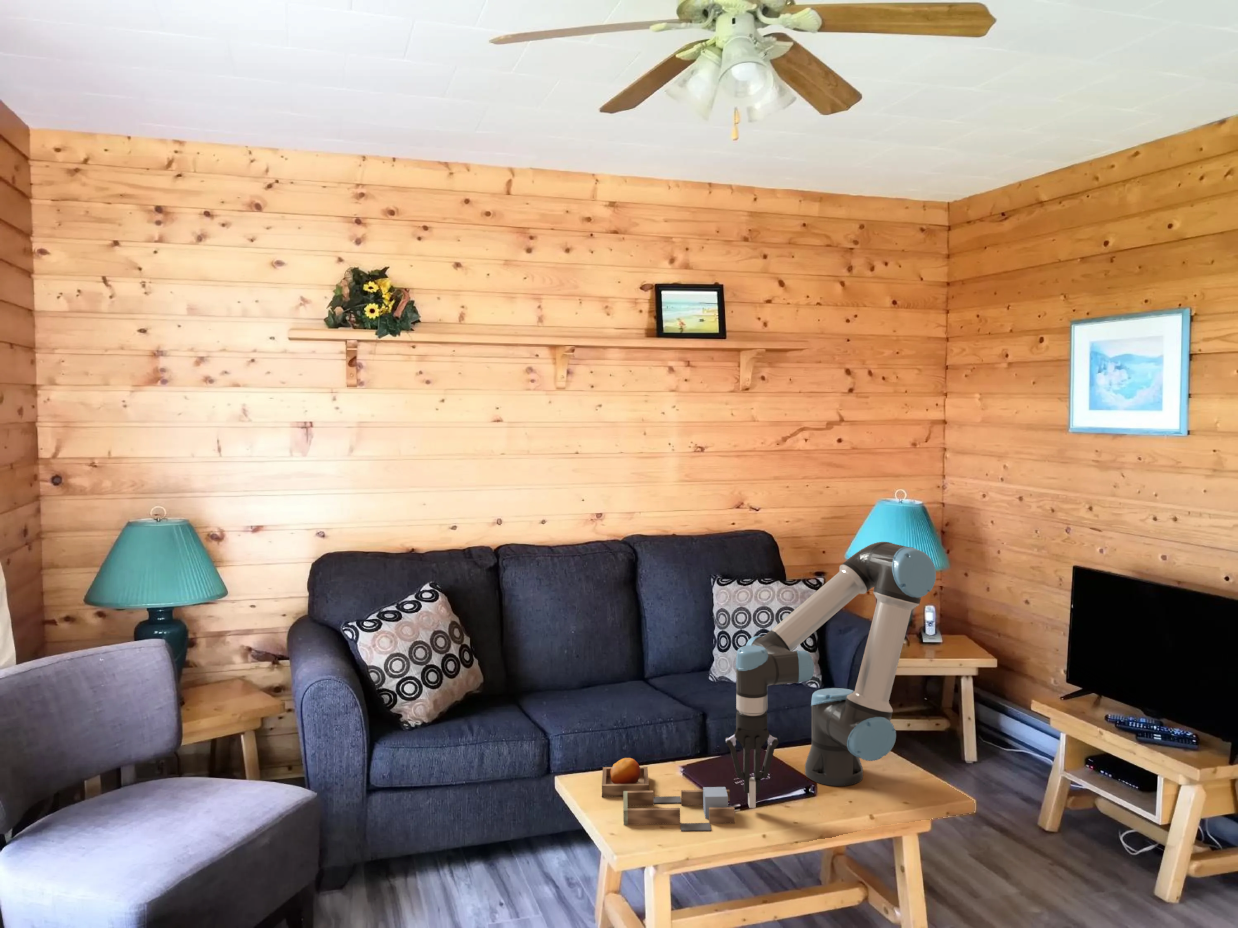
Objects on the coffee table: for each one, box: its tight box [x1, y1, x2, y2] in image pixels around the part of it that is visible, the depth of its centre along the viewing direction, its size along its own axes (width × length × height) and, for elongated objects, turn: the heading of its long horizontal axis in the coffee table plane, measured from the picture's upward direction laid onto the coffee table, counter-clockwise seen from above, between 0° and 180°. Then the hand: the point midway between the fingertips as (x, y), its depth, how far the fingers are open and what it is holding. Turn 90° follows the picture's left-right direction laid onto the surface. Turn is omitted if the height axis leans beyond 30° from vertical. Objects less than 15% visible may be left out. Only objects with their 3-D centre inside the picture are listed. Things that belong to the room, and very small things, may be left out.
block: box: [702, 786, 729, 820], centre depth 222 cm, size 6×6×6 cm
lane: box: [622, 789, 736, 832], centre depth 222 cm, size 26×18×4 cm
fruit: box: [610, 757, 641, 784], centre depth 238 cm, size 8×8×8 cm
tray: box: [601, 766, 650, 798], centre depth 238 cm, size 12×12×3 cm
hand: (751, 805), depth 222 cm, fingers closed
